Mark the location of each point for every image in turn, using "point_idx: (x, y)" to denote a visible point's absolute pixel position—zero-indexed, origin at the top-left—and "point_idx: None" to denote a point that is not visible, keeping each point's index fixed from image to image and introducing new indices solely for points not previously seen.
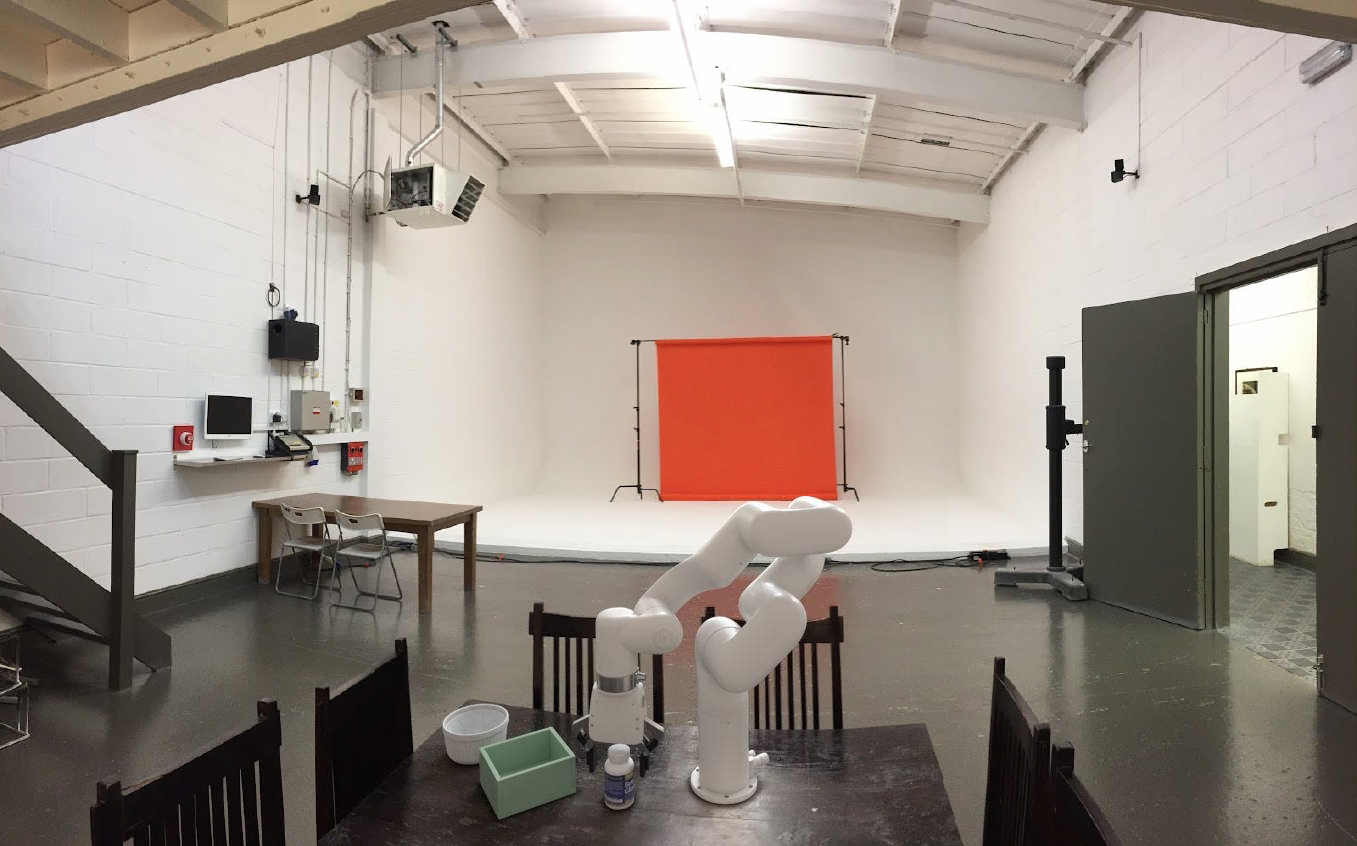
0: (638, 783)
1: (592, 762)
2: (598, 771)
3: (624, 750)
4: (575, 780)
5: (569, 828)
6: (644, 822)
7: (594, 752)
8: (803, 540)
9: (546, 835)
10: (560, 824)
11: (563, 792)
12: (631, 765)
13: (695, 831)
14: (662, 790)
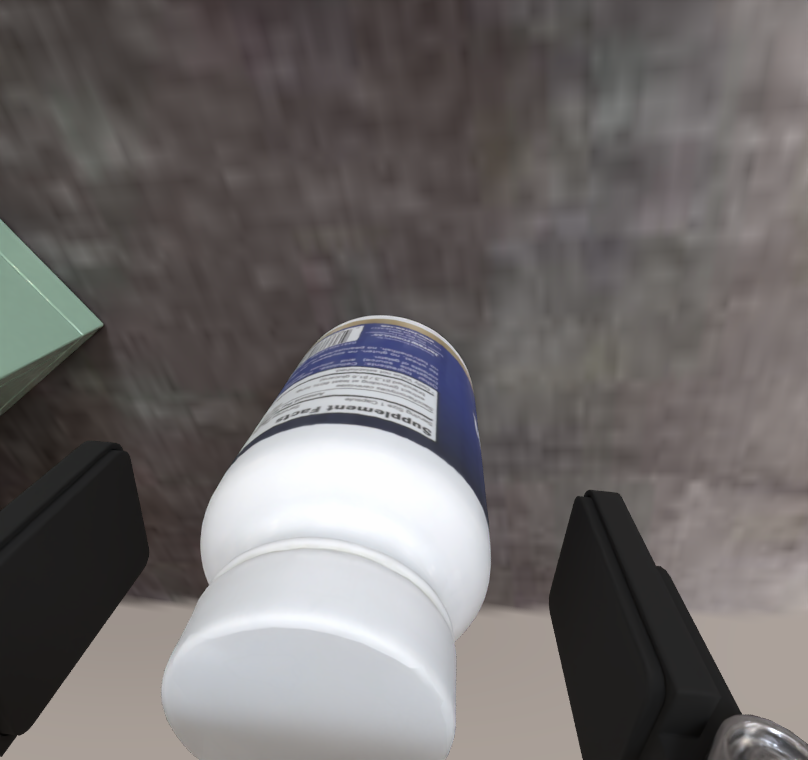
0: (484, 205)
1: (90, 639)
2: (141, 57)
3: (385, 735)
4: (47, 354)
5: (202, 567)
6: (541, 538)
7: (28, 664)
8: None
9: (129, 598)
10: (152, 547)
11: (37, 378)
12: (474, 613)
13: (798, 590)
14: (662, 279)
